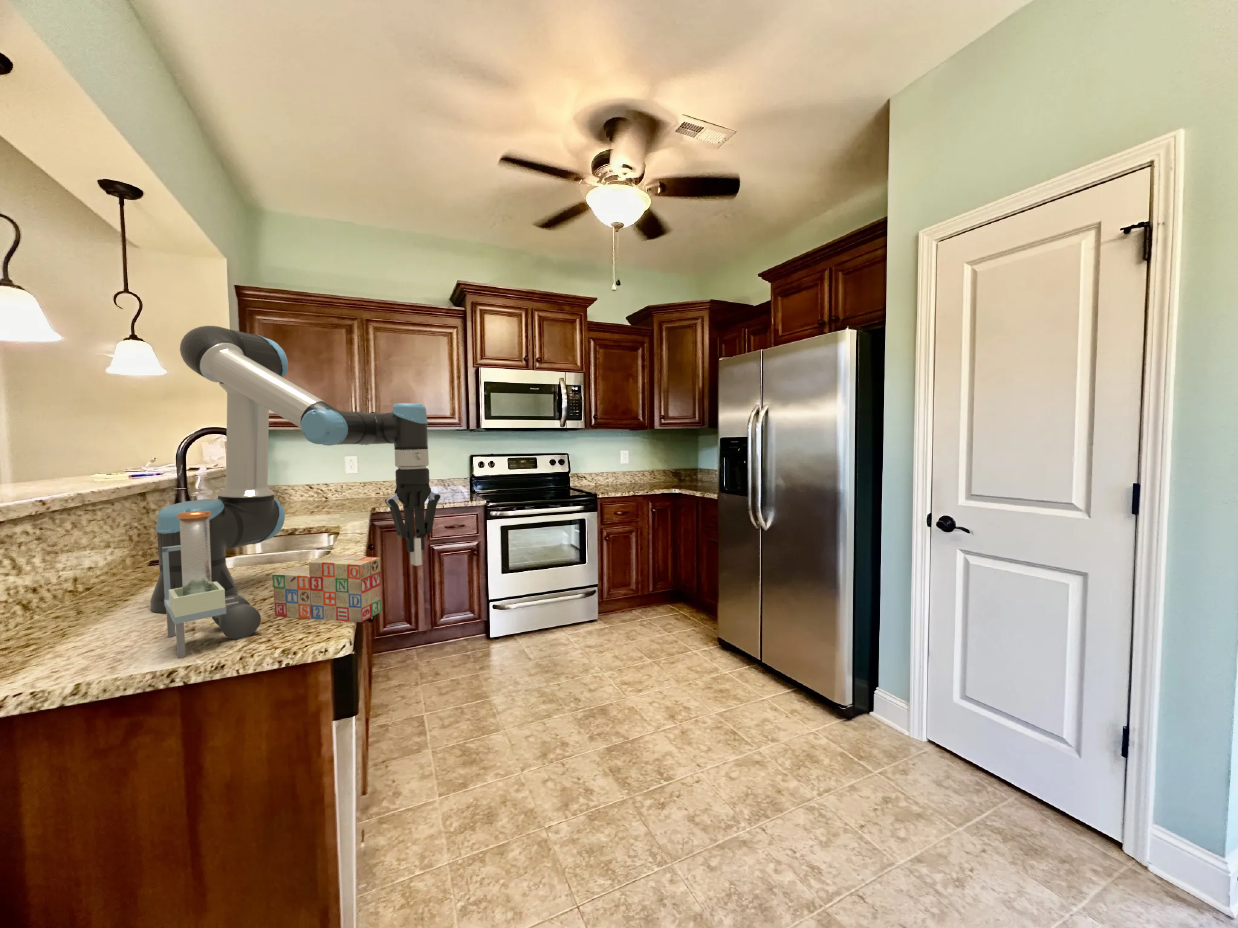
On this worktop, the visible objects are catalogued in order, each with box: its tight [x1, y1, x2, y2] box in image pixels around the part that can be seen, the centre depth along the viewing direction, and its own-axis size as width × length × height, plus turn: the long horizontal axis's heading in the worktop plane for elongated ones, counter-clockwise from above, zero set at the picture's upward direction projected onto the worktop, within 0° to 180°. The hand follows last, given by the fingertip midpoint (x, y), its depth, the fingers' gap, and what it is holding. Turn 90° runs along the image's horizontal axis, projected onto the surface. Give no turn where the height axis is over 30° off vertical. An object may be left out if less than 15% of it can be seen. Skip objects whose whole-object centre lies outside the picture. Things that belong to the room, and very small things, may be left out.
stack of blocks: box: [271, 554, 382, 623], centre depth 104 cm, size 21×6×12 cm, turn 80°
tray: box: [169, 581, 225, 618], centre depth 88 cm, size 8×7×3 cm
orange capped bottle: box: [177, 511, 212, 596], centre depth 88 cm, size 5×5×17 cm
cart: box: [162, 545, 262, 659], centre depth 93 cm, size 15×12×17 cm
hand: (416, 564), depth 118 cm, fingers closed
